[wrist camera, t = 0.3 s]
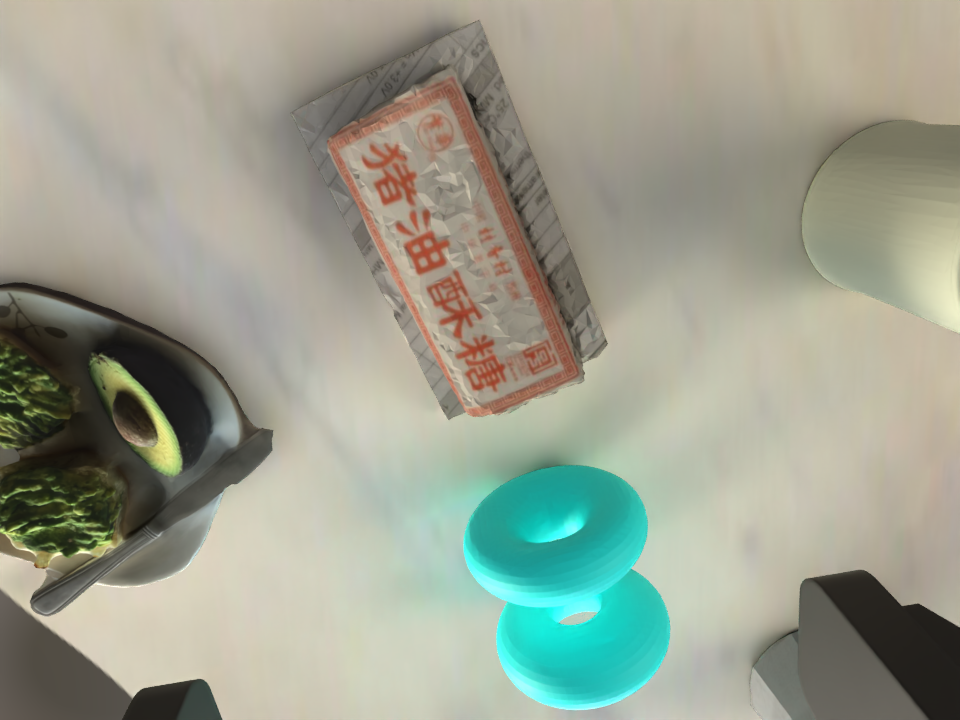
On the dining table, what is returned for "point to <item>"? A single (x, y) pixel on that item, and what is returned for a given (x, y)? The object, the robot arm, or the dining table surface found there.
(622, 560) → the donuts
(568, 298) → the packaged product
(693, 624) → the dining table surface
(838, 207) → the can
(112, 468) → the salad plate
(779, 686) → the coffeepot
